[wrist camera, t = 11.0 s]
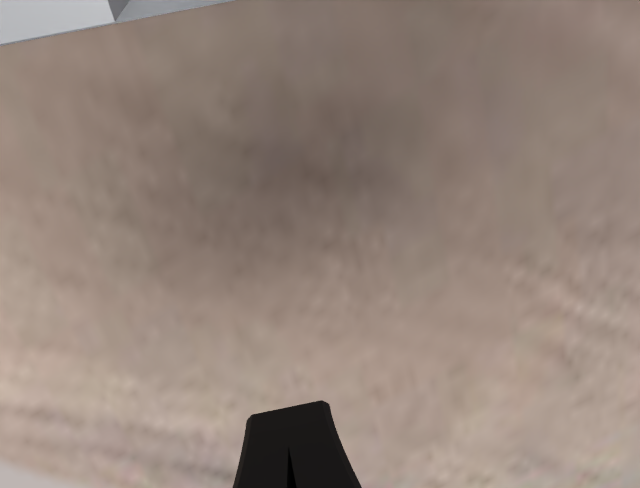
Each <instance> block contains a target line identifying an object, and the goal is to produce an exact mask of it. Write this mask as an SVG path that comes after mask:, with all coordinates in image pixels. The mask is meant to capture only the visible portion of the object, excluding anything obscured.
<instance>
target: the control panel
mask: <svg viewBox="0 0 640 488" xmlns="http://www.w3.org/2000/svg"><path fill="white" fill-rule="evenodd" d="M229 1H234V0H0V46H2V45H8V44H13V43H18V42H23V41H28V40H33V39H39V38H44V37H49V36H54V35H59V34H64V33H69V32H75V31H80V30H85V29H90V28H95V27H100V26H106V25H111V24H116V23H121V22H126V21H131V20H136V19H142V18H147V17H152V16H157V15H162V14H167V13H173V12H178V11H183V10H188V9H193V8H198V7H203V6H209V5H214V4H219V3H224V2H229Z"/></svg>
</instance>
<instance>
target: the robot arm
mask: <svg viewBox="0 0 640 488" xmlns="http://www.w3.org/2000/svg"><path fill="white" fill-rule="evenodd" d="M233 488H362V487H361V485H360V483H359V481H358V479H357V477H356V475H355V473H354V471H353V469H352V467H351V464H350V462H349V460H348V458H347V455H346V453H345V451H344V449H343V446H342V444H341V441H340V439H339V436H338V434H337V431H336V428H335V425H334V422H333V418H332V415H331V410H330V406H329V404H328V403H326V402H324V401H322V400H321V401H316V402H311V403H307V404H302V405H297V406H292V407H287V408H282V409H278V410H273V411H268V412H263V413H258V414H253V415H251V416H250V418H249V419H248V420H247V423H246V430H245V436H244V442H243V447H242V452H241V457H240V461H239V465H238V470H237V474H236V477H235V481H234V485H233Z"/></svg>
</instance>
